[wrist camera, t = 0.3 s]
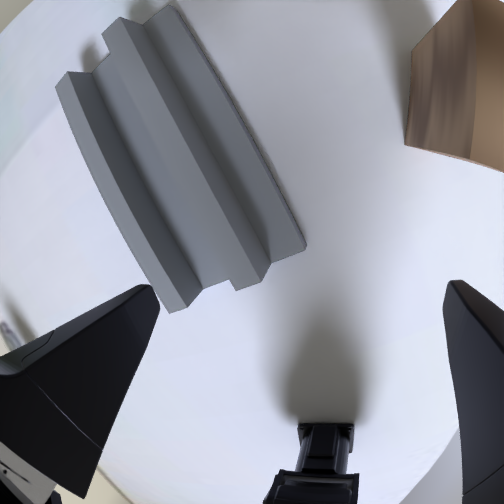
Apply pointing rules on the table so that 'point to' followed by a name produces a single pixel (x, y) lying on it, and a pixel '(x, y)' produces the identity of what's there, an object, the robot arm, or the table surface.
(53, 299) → the table surface
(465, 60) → the plaque
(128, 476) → the table surface
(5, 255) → the table surface
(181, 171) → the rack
